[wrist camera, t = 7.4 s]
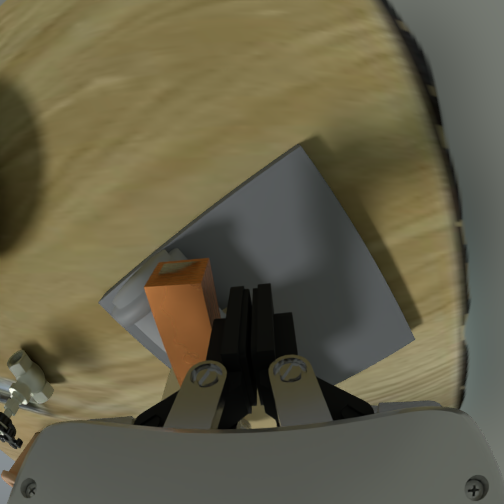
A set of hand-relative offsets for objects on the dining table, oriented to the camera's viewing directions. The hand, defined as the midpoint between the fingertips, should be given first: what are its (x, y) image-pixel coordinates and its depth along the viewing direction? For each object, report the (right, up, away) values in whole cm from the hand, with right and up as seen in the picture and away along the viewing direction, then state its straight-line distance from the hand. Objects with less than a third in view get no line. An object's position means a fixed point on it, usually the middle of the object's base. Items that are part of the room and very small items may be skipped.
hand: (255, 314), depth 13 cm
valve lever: (-2, -4, +3) cm, 5 cm away
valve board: (+1, -3, +12) cm, 13 cm away
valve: (-28, -12, +18) cm, 36 cm away
